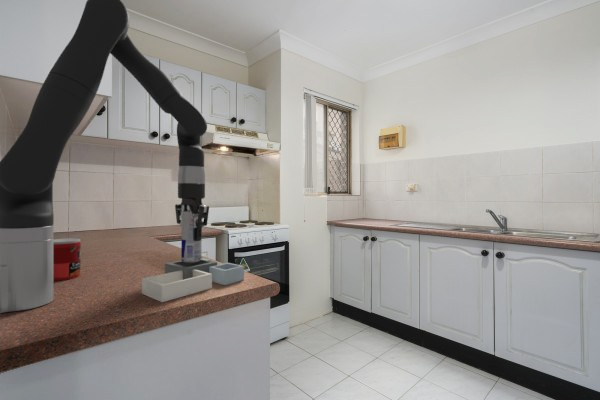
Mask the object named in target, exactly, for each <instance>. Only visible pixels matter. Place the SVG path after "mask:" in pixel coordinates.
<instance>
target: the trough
mask: <svg viewBox="0 0 600 400" xmlns="http://www.w3.org/2000/svg"><path fill="white" fill-rule="evenodd" d="M212 288H213V282H212V274H211V273H207V272H203V271H200V270H196V269H195V270H193V278H188V279H184V280H183V271H182V270H180V271H175V272H170V273H166V274H165V273H162V274H158V275H157V274H156V275H151V276H147V277H142V278H141V294H142V295H144V296H147V297H149V298H150V299H153V300H156V301H159V302H160V303H165V302H168V301H172V300H175V299H179V298H182V297H185V296H190V295H192V294H196V293H199V292H204V291H207V290H210V289H212Z"/></svg>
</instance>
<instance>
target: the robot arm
mask: <svg viewBox="0 0 600 400" xmlns="http://www.w3.org/2000/svg"><path fill="white" fill-rule="evenodd" d="M85 2H86V3H85V6H84V8H83V11H82V15H81V18H80V20H79V23H78V25H77V27H76V30H75V32H74V34H73V35H72V38H70V40H69V42H68V43H67V44H66V46H65V47H64V49H63V50H62V52H61V53H60V55H59V56H58V58H57V60H56V61H55V62H54V64H53V65H52V68H51V69H50V70H49V73H48V74H47V76H46V78H45V80H44V81H43V84H42V86H41V87H40V89H39V91H38V94H37V96H36V98H35V101H34V102H33V103H34V104H33V106H32V108H31V112H30V114H29V117H28V121H27V123H26V125H25V127H24V128H23V130H22V132H21V133H20V135H19V136H18V137H17V138H16V141H15V142H14V143H13V145H12V146H11V147H10V149H9V150H8V151H7V152H6V154H5V155H4V157H2V158H1V159H0V314H3V313H8V312H18V311H19V312H20V311H26V310H30V309H35V308H39V307H42V306H45V305H48V304H50V303H51V302H53V301H54V292H55V290H54V281H53V239H54V221H55V220H54V215H55V214H54V205H53V199H54V198H53V194H54V192H53V190H54V189H53V187H54V186H53V184H54V180H55V177H56V172H57V169H58V167H59V163H60V161H61V157H62V156H63V152H64V149H65V147H66V145H67V143H68V142H69V140H70V139H71V137H72V135H73V134H74V133H75V131H76V130H77V128H78V127H79V125H80V124H82V122H83V120H84V118H85V116H86V115H87V113H88V112H89V109H90V108H91V106H92V103H93V102H94V99H95V97H96V95H97V93H98V91H99V87H100V85H101V82H102V79H103V77H104V72H105V68H106V65H107V62H108V59H109V56H110V55H111V56H112V57H114V58H115V59H116V60H117V61H118V62H119V63H120V64H121V66H123V67H124V68H125V69H126V70H127V71H128V72H129V73H130V75H132V76H133V77H134V78H135V79H136V80H137V82H138V83H139V84H140V85H141V86H142V88H144V90H145V91H146V92H147V93H148V95H149V96H150V97H151V98H152V100H153V101H154V102H155V103H156V104H157V106H159V108H160V109H161V110H162V111H163V112H164V113H166V114H167V115H171V116H172V118H173V119H175V120H176V122H177V123H176V124H177V125H176V139H177V146H178V151H179V152H178V172H177V173H178V174H177V198H178V199H181V203H180V204H178V203H177V204H175V205H174V209H175V218H176V223H177V225H178V224H179V226H180V227H181V228H182V211H183V212H186V211H188V212H190V214H191V220H192V221H193V226H194V228H193V240H194V241H200V240H201V238H202V239H203V237H202V235H203V232H202V230H203V228H204V227H205V226H206V227H207V225H208V221H209V220H208V219H209V213H210V212H209V211H210V206H209V205H204V204H203V201H202V200H204V199H205V198H206V172H205V151H204V149H203V148H202V147H201V137H202V136H204V135H205V133H207V129H208V123H207V121H206V119H205V117H204V115H203V113H201V112H200V111H199V110H198V108H196V107H195V106H194V105H193V103H191V102H190V100H188V99H187V98H185V97H184V95H183V94H182V92H181V91H180V90H179V89H178V87H177V86H176V85H175V84H174V83H173V81H172V80H171V79H170V78H169V76H168V75H167V74H165V72H164V71H162V70H161V69H160V68H159V67H158V66H156V65H155V64H153V62H151V61H150V60H149V59H147V58H146V56H144V55H143V54H142V52H141V51H140V50H139V49H138V48H137V46H136V45H135V44H134V42H133V41H132V39H131V38H130V36H129V34H128V31H129V27H130V16H129V12H128V9H127V7H126V5H125V4H124V3H123V1H122V0H86V1H85ZM193 214H198V217H194V215H193ZM196 220H198V222H196ZM181 236H182V232H181Z"/></svg>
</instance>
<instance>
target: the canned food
mask: <svg viewBox="0 0 600 400" xmlns="http://www.w3.org/2000/svg"><path fill="white" fill-rule="evenodd" d="M81 245H82V241H81V238H77V237H75V238H74V237H68V238H67V237H66V238H64V237H63V238H55V239H54V238H53V282H54V281H67V280H72V279H76V278H79V277H80V275H81V269H82V268H81V267H82V266H81V263H82V262H81V254H82V253H81V249H82V247H81Z"/></svg>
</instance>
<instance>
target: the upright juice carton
mask: <svg viewBox="0 0 600 400" xmlns="http://www.w3.org/2000/svg"><path fill="white" fill-rule="evenodd" d="M193 215H194V217H198V214H193ZM196 222H198V220H196ZM193 228H194V226H193V221H192V220H191V214H190V212H188V211H186V212H183V211H182V227H181V233H182V235H181V237H180V239H181V242H180V243H181V250H180V251H181V253H180V254H181V256H180V257H181V258H180V261H183V262H185V263H195V262H198V261H200V260H201V258H202V247H203V246H202V241H203V237H202V238H201V240H200V241H194V240H193Z"/></svg>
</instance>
